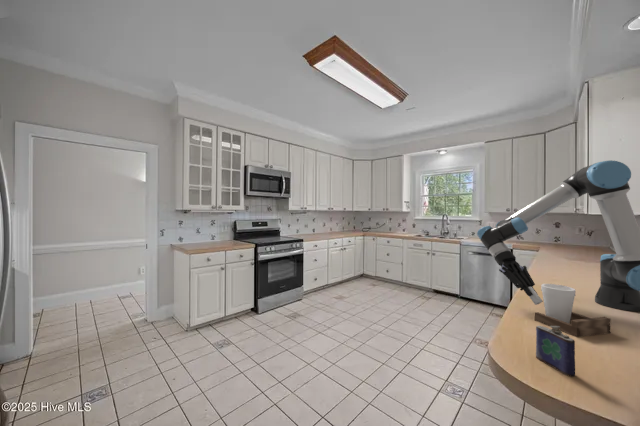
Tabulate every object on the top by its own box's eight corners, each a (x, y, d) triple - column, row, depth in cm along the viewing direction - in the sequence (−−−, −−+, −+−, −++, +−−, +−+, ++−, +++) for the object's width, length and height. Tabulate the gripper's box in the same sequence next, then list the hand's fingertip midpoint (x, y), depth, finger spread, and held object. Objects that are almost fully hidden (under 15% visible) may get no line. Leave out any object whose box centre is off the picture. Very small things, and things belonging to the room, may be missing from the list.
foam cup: (582, 327, 92) (582, 291, 92) (555, 326, 92) (556, 290, 92) (559, 316, 101) (559, 283, 101) (535, 315, 102) (535, 283, 102)
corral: (565, 317, 100) (565, 304, 100) (610, 333, 87) (610, 318, 87) (534, 320, 97) (534, 307, 97) (576, 337, 84) (576, 321, 84)
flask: (533, 356, 72) (533, 319, 72) (542, 356, 72) (542, 318, 72) (569, 377, 63) (570, 334, 63) (579, 376, 63) (580, 333, 63)
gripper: (508, 259, 122) (544, 306, 106) (485, 259, 120) (519, 308, 103) (519, 249, 117) (559, 297, 101) (495, 250, 115) (532, 299, 98)
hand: (539, 302), depth 102 cm, fingers closed
